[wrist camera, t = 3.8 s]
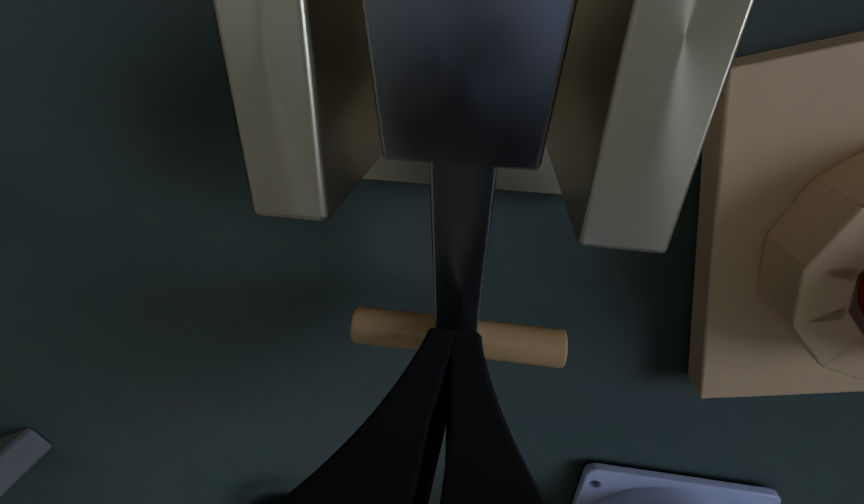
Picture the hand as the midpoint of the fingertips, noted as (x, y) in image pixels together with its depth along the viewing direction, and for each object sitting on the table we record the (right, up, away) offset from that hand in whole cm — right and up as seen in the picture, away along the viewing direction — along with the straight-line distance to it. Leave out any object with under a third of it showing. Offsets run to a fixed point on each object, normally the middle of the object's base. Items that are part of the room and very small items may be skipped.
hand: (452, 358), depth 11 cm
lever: (0, +4, -2) cm, 5 cm away
